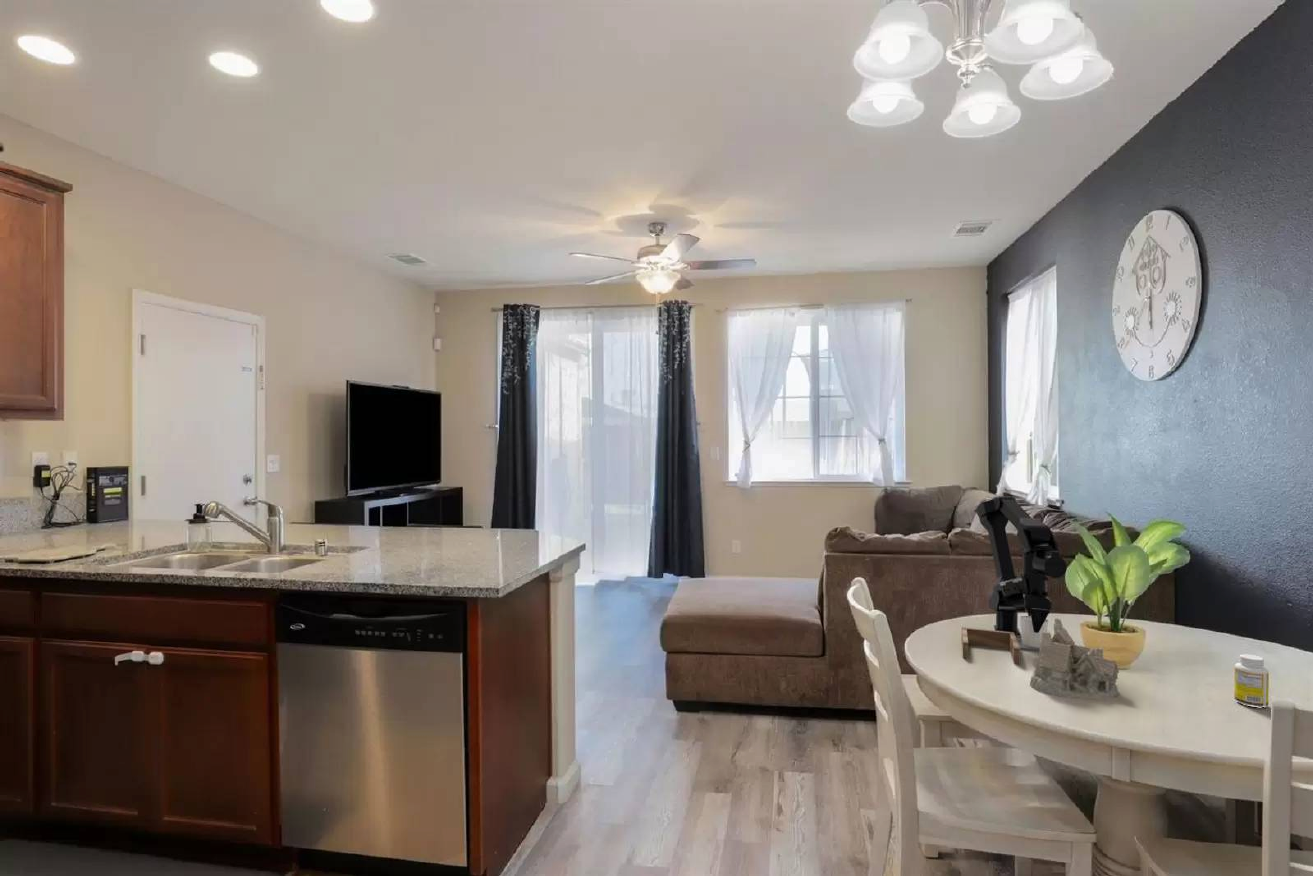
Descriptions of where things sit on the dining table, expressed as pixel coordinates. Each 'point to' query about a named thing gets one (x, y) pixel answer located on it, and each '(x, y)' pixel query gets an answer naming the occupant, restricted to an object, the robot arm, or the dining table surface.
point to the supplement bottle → (1251, 681)
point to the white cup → (1031, 632)
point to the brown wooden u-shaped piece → (990, 640)
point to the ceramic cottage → (1073, 668)
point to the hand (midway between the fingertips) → (1034, 628)
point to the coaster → (1024, 647)
